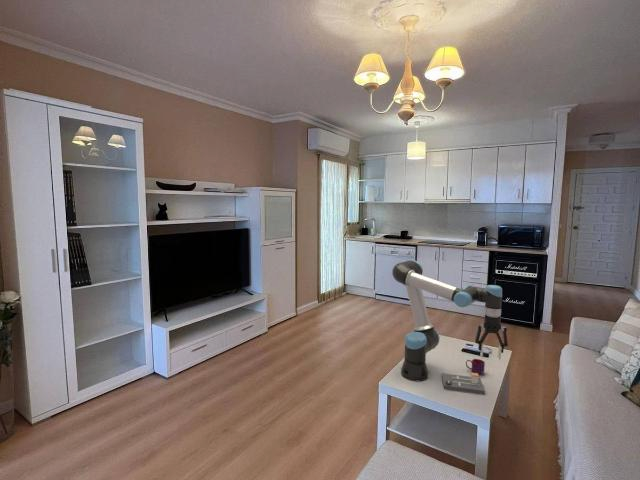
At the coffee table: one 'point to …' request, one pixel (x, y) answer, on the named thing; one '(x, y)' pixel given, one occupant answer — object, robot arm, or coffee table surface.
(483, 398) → the coffee table surface
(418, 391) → the coffee table surface
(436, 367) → the coffee table surface
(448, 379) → the console
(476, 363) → the mug
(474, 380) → the fader
